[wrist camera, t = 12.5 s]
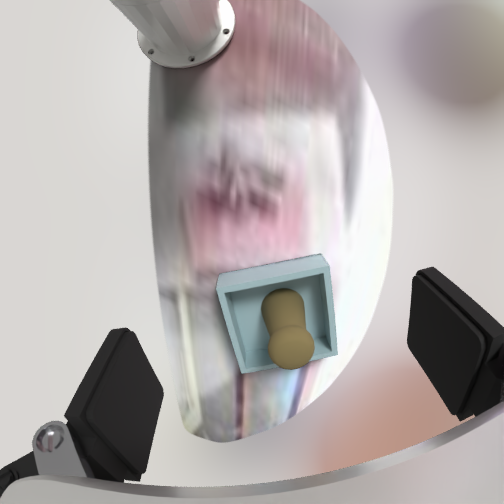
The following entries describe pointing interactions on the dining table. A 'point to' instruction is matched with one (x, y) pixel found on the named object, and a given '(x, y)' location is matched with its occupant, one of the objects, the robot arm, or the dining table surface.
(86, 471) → the robot arm
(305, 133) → the dining table surface
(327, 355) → the bin
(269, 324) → the cork
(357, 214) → the dining table surface
